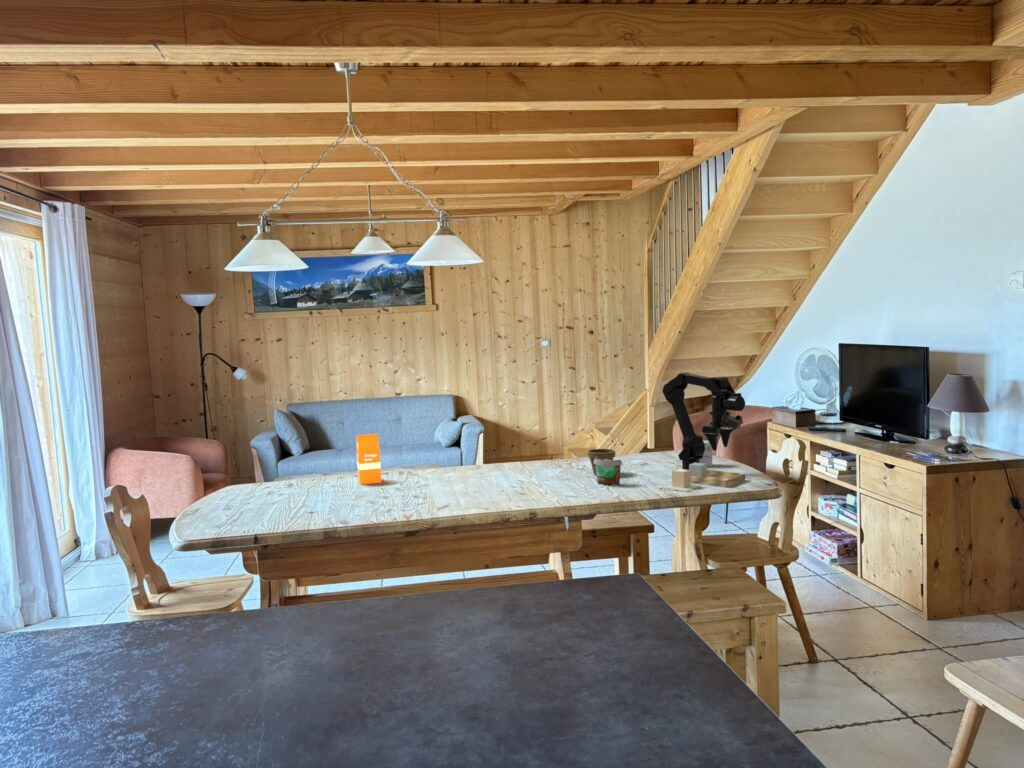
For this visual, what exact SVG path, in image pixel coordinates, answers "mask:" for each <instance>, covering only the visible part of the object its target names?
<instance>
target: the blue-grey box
mask: <svg viewBox="0 0 1024 768" xmlns="http://www.w3.org/2000/svg"><path fill="white" fill-rule="evenodd" d="M689 470H691V476H693V477H702V478H707V470H708V467H707V464H704V463H692V464H689Z"/></svg>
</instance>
